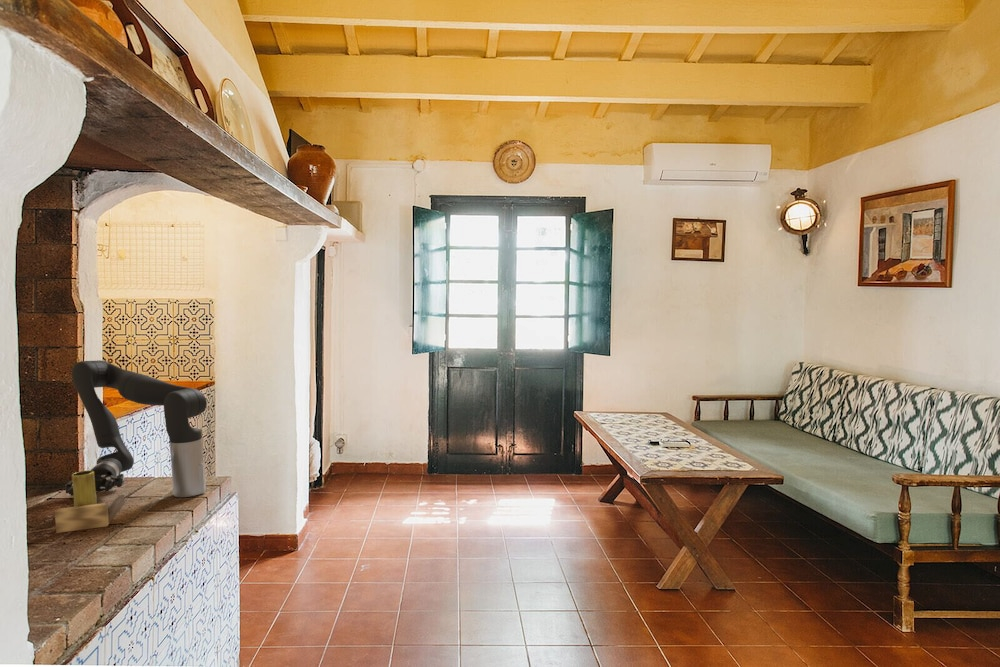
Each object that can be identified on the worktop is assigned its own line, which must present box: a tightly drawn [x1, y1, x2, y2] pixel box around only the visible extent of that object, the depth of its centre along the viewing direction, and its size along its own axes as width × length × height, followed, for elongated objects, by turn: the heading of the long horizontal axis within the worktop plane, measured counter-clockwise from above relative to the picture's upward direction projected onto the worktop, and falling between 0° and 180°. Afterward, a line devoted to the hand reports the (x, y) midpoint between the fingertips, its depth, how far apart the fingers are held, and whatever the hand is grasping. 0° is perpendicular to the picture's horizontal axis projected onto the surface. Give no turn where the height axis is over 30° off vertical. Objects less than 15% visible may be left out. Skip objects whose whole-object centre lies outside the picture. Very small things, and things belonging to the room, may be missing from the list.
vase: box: [71, 469, 98, 507], centre depth 181 cm, size 6×6×14 cm
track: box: [54, 494, 126, 534], centre depth 186 cm, size 12×22×6 cm, turn 19°
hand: (89, 490), depth 184 cm, fingers open, 8 cm apart
